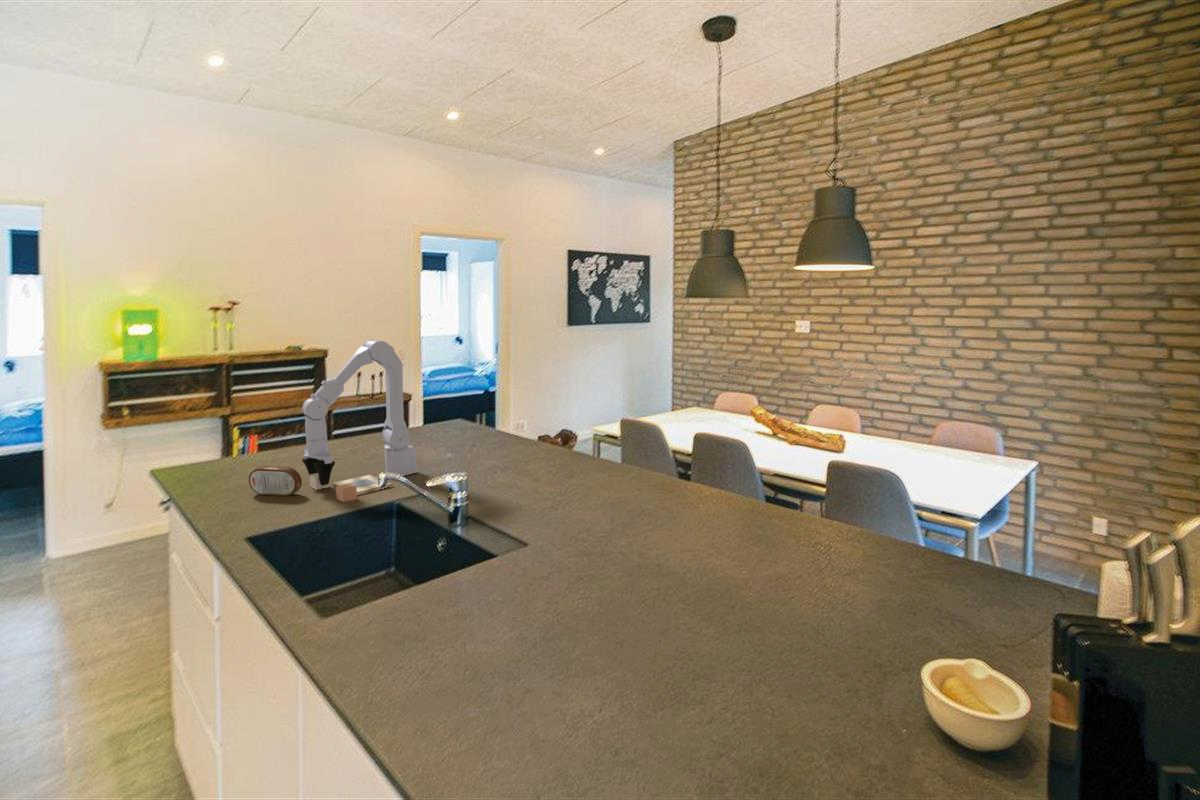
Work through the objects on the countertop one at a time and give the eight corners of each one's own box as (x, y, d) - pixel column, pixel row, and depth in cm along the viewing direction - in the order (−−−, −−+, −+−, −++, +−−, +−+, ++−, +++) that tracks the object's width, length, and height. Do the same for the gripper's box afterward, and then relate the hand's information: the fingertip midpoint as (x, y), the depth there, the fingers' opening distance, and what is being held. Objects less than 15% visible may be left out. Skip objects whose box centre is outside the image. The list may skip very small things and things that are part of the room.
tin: (303, 494, 181) (301, 466, 179) (297, 497, 178) (294, 469, 176) (255, 492, 182) (252, 464, 181) (248, 495, 179) (245, 467, 178)
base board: (369, 477, 197) (369, 474, 197) (392, 486, 188) (392, 483, 188) (332, 486, 188) (332, 482, 188) (355, 495, 179) (355, 492, 179)
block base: (323, 484, 190) (322, 471, 190) (329, 487, 188) (328, 474, 187) (310, 487, 187) (309, 474, 187) (316, 490, 185) (315, 477, 184)
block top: (350, 496, 179) (349, 483, 178) (357, 499, 176) (356, 485, 176) (336, 499, 176) (335, 486, 175) (343, 502, 173) (342, 489, 173)
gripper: (292, 437, 187) (296, 480, 189) (314, 444, 177) (317, 490, 179) (316, 433, 192) (319, 475, 194) (338, 440, 182) (340, 485, 185)
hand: (319, 482), depth 187 cm, fingers open, 6 cm apart
